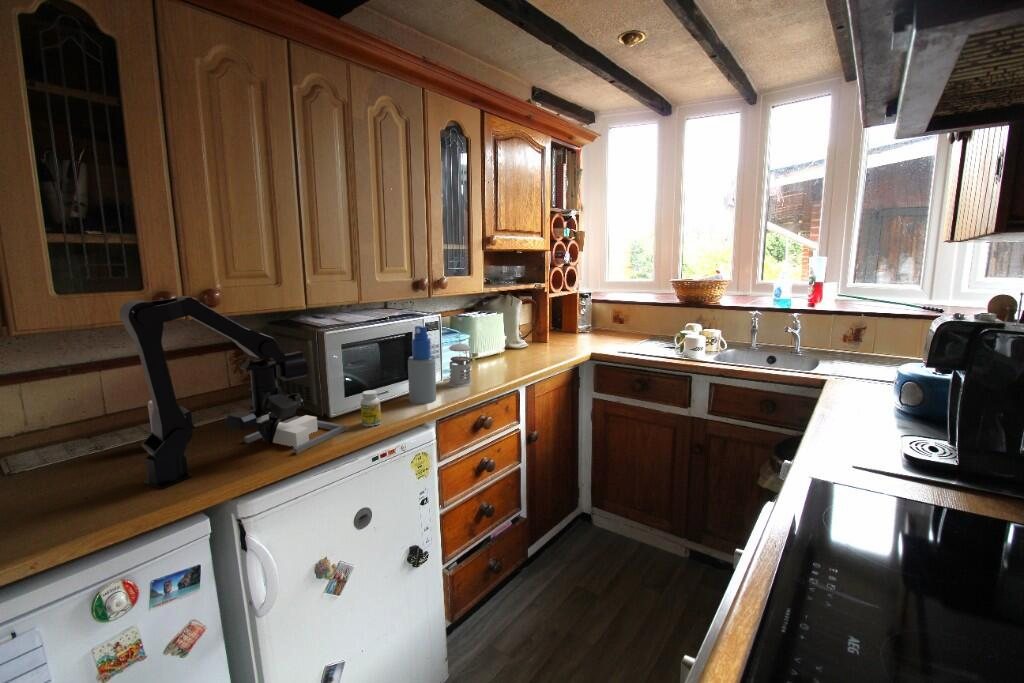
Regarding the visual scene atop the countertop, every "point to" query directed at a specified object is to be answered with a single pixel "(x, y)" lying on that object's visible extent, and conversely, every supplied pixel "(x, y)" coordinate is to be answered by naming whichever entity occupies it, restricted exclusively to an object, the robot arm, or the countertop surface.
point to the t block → (295, 431)
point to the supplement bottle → (370, 408)
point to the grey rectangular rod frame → (321, 424)
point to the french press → (460, 366)
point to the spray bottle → (421, 369)
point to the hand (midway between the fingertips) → (269, 443)
